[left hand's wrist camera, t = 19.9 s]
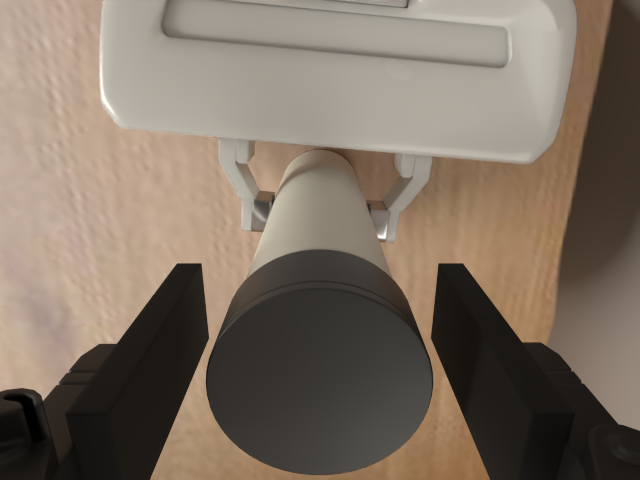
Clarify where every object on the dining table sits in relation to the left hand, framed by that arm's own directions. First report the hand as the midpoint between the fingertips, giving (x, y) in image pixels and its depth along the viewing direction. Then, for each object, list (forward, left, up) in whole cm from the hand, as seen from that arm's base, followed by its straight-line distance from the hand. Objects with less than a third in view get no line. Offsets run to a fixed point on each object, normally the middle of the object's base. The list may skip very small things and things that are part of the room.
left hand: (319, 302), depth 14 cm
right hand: (-1, 0, -9) cm, 9 cm away
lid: (0, 0, +4) cm, 4 cm away
